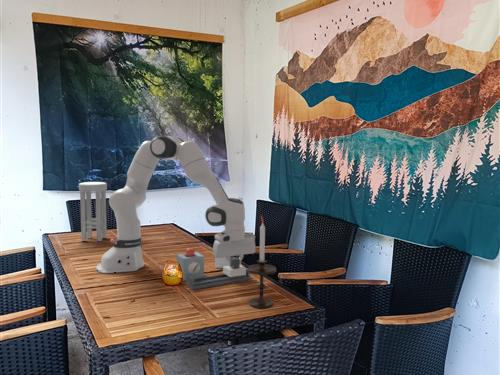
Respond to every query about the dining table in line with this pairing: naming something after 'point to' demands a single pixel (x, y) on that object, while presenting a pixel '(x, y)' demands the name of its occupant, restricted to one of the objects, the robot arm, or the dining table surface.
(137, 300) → the dining table surface
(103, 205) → the stool
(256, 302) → the candlestick
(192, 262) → the gauge cabinet
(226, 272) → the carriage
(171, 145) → the robot arm
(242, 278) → the rail
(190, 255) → the button
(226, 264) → the medicine bottle
